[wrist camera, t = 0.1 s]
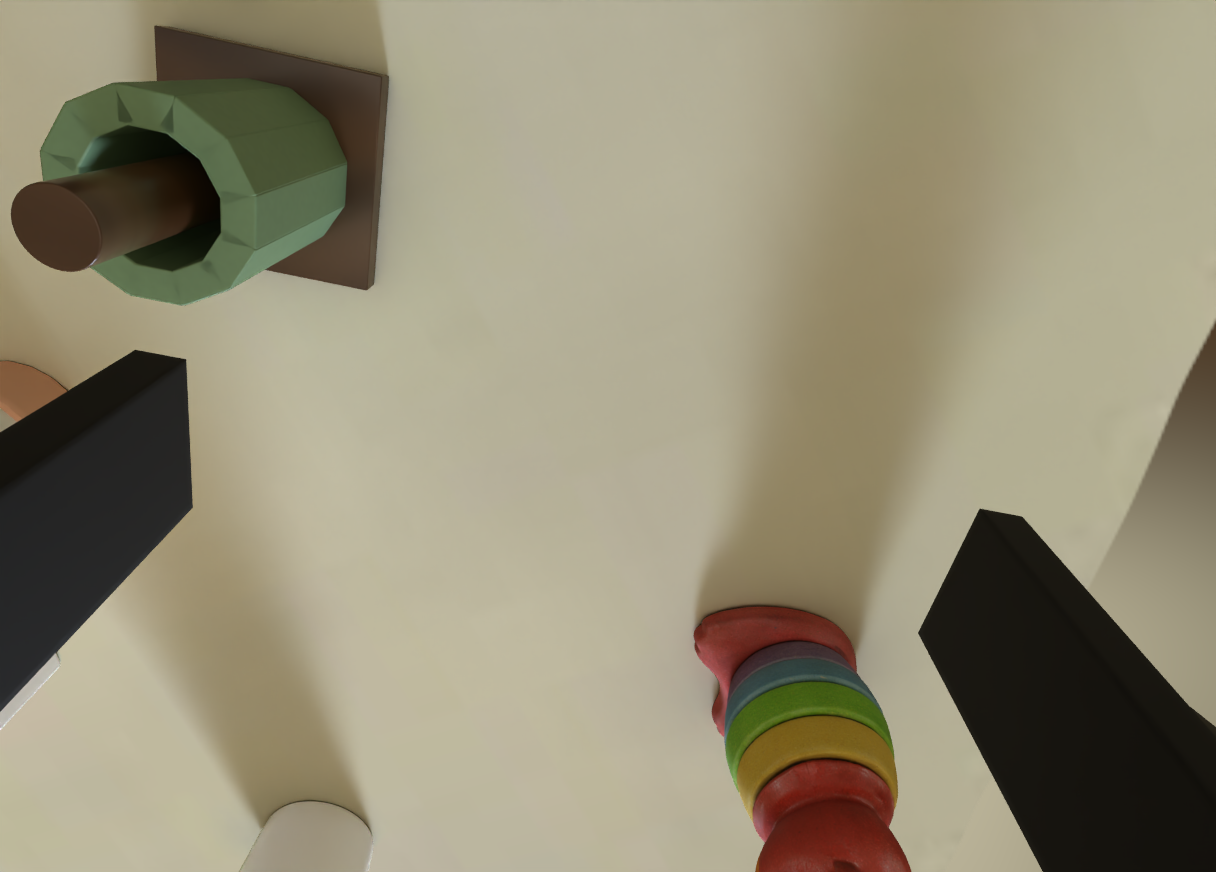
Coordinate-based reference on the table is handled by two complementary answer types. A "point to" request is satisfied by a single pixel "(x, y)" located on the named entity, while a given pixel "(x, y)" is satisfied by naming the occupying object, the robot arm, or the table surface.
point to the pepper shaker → (23, 392)
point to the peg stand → (181, 189)
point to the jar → (29, 690)
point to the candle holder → (311, 841)
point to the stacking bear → (803, 741)
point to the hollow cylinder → (235, 162)
